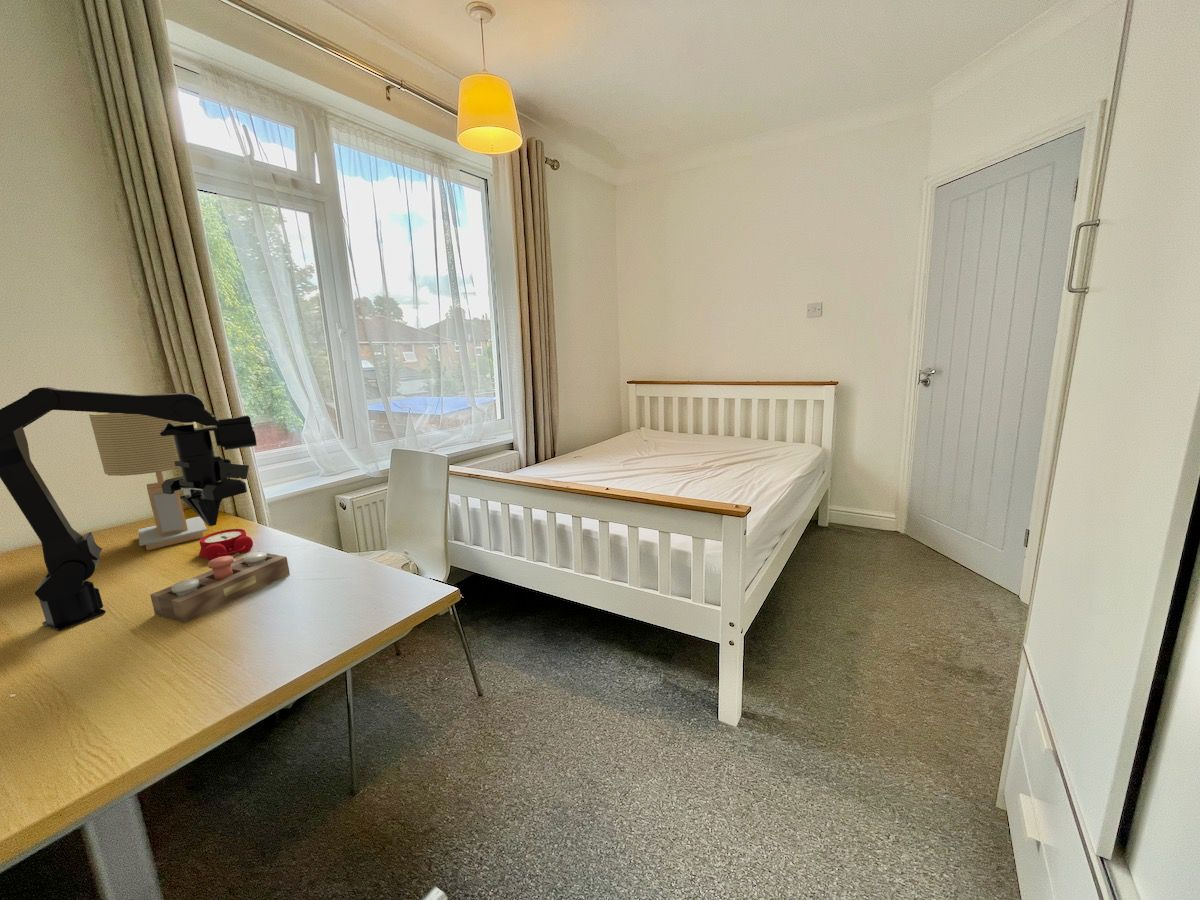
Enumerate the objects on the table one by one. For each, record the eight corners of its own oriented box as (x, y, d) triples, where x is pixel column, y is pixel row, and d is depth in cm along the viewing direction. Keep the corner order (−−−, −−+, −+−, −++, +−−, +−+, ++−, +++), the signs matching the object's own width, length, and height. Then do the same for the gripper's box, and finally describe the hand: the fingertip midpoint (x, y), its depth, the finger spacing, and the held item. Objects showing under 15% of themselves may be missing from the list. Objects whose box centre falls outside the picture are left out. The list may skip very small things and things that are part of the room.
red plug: (220, 589, 94) (215, 565, 93) (208, 586, 96) (203, 562, 95) (242, 580, 98) (237, 557, 97) (229, 577, 99) (224, 554, 98)
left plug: (185, 615, 89) (179, 590, 88) (172, 611, 90) (166, 587, 89) (209, 604, 92) (203, 580, 91) (196, 601, 94) (190, 577, 93)
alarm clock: (241, 525, 127) (254, 525, 117) (247, 547, 127) (260, 549, 117) (191, 537, 119) (200, 538, 109) (198, 561, 120) (207, 564, 110)
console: (185, 623, 86) (179, 602, 86) (155, 614, 90) (149, 594, 89) (290, 574, 105) (287, 556, 104) (262, 568, 108) (258, 551, 107)
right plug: (256, 583, 100) (251, 560, 99) (244, 580, 102) (239, 558, 101) (275, 574, 104) (270, 553, 103) (262, 572, 106) (258, 550, 105)
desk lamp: (125, 538, 130) (91, 411, 123) (214, 519, 144) (189, 403, 136) (124, 559, 117) (86, 417, 109) (224, 535, 130) (196, 407, 122)
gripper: (265, 447, 101) (279, 516, 105) (212, 444, 108) (226, 509, 112) (207, 459, 91) (223, 535, 95) (152, 455, 98) (169, 525, 102)
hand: (212, 525), depth 101 cm, fingers closed
